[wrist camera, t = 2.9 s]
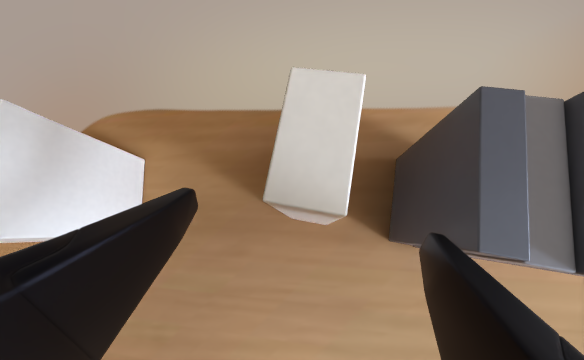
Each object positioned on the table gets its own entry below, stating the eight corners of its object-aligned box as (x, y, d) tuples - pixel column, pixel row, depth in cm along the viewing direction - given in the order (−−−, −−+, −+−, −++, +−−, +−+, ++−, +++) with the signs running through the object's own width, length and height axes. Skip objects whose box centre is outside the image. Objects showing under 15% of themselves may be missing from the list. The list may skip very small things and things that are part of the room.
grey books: (461, 256, 17) (664, 289, 7) (388, 242, 17) (482, 255, 8) (463, 167, 18) (636, 94, 8) (396, 157, 19) (484, 80, 9)
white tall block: (327, 225, 18) (347, 216, 8) (291, 218, 19) (261, 201, 8) (337, 160, 19) (366, 72, 9) (302, 155, 20) (291, 65, 9)
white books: (140, 235, 19) (-32, 239, 10) (84, 241, 20) (-137, 250, 10) (145, 159, 21) (1, 98, 11) (93, 165, 21) (-89, 111, 12)
